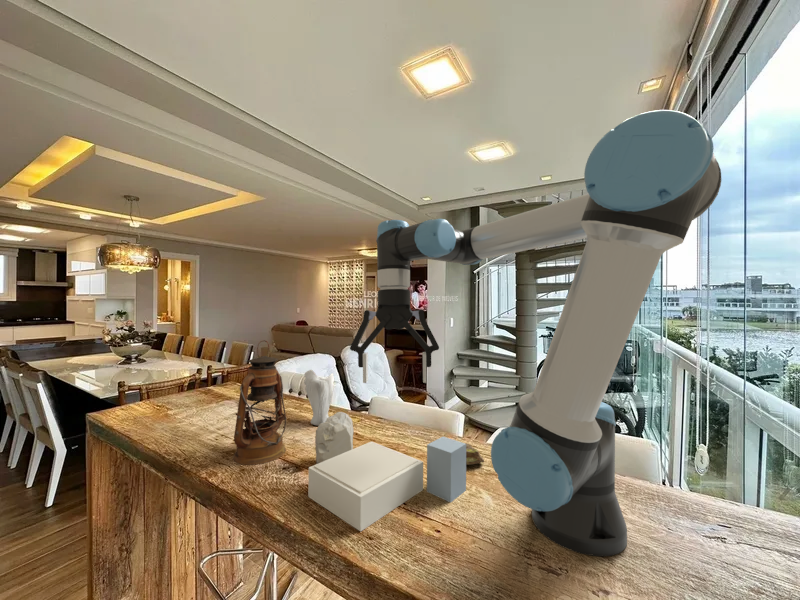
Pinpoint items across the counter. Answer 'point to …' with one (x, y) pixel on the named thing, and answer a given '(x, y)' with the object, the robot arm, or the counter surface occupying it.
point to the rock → (472, 455)
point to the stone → (334, 437)
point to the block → (446, 468)
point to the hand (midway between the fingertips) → (395, 381)
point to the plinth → (365, 483)
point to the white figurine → (319, 395)
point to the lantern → (261, 435)
